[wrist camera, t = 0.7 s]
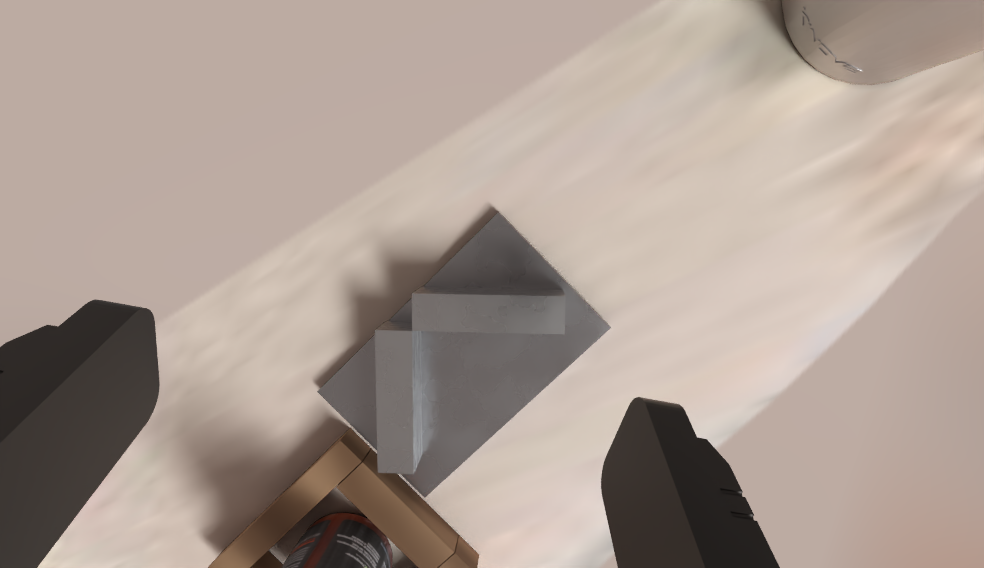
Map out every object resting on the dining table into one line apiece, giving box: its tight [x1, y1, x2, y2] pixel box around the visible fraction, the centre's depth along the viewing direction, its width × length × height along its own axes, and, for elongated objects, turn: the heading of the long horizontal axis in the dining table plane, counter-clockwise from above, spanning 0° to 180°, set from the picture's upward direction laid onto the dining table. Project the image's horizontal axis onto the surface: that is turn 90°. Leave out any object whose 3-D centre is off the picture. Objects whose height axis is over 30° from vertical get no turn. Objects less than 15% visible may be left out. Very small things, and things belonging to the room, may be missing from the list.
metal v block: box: [317, 212, 611, 497], centre depth 31 cm, size 15×9×3 cm, turn 135°
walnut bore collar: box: [208, 428, 479, 568], centre depth 34 cm, size 12×11×2 cm
